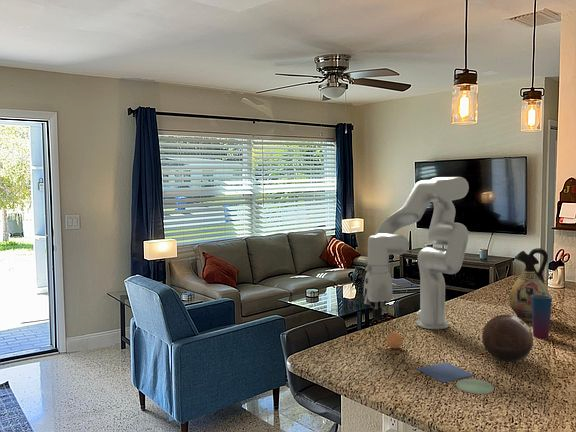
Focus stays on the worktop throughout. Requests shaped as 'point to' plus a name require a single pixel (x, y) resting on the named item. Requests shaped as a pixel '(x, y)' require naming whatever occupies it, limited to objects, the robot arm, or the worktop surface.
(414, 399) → the worktop surface
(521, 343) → the wooden sphere
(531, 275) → the ceramic jug
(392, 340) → the egg
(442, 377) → the blue square tile
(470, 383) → the far disc
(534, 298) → the cup
